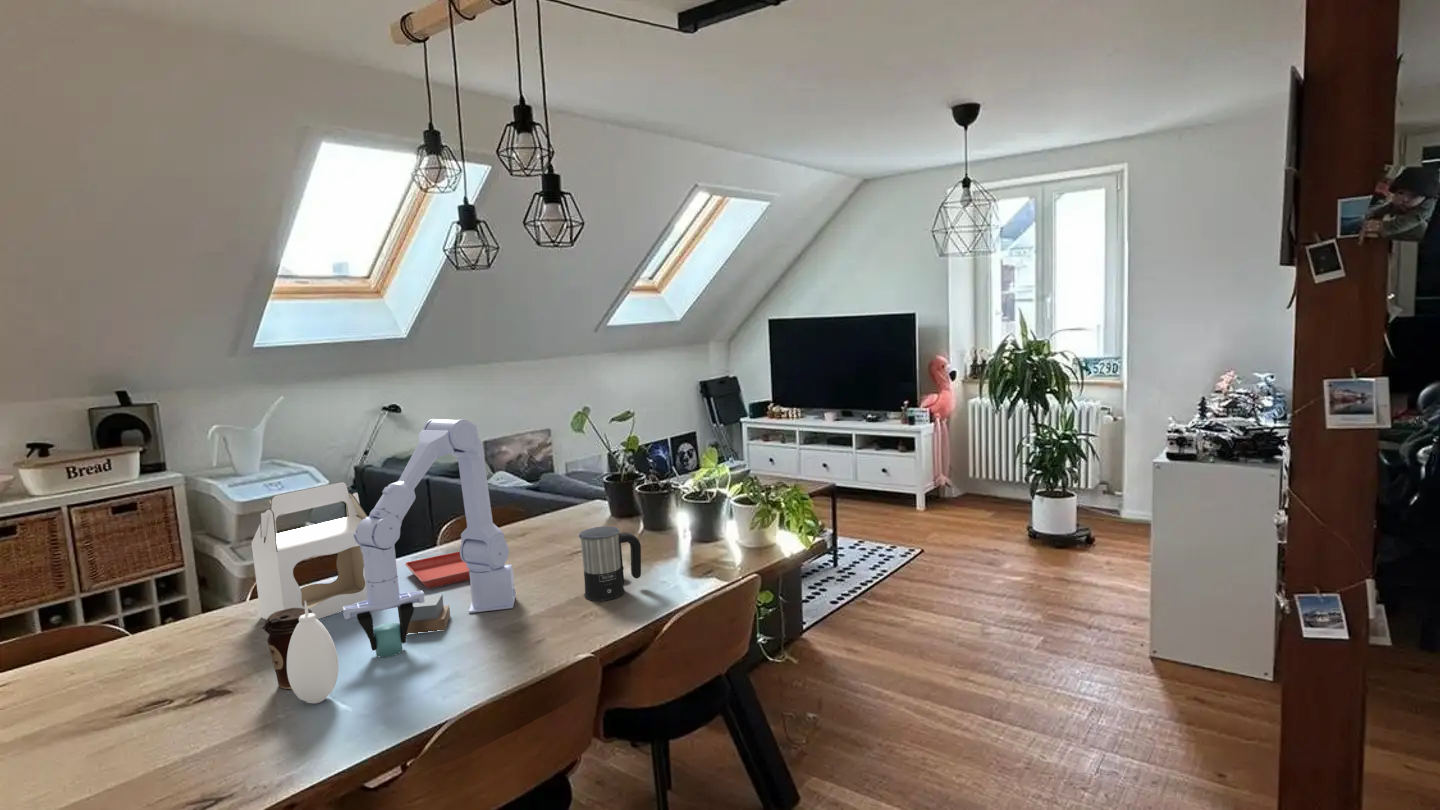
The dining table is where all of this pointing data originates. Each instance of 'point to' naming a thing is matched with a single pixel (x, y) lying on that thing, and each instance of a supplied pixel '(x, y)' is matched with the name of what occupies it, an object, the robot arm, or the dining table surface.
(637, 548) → the milk frother
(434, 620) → the walnut slab
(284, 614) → the coffee cup
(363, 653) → the dining table surface
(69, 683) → the dining table surface
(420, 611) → the gray block
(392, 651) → the teal cylinder
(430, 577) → the plant saucer
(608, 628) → the dining table surface
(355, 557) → the gable box
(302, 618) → the sauce bottle
